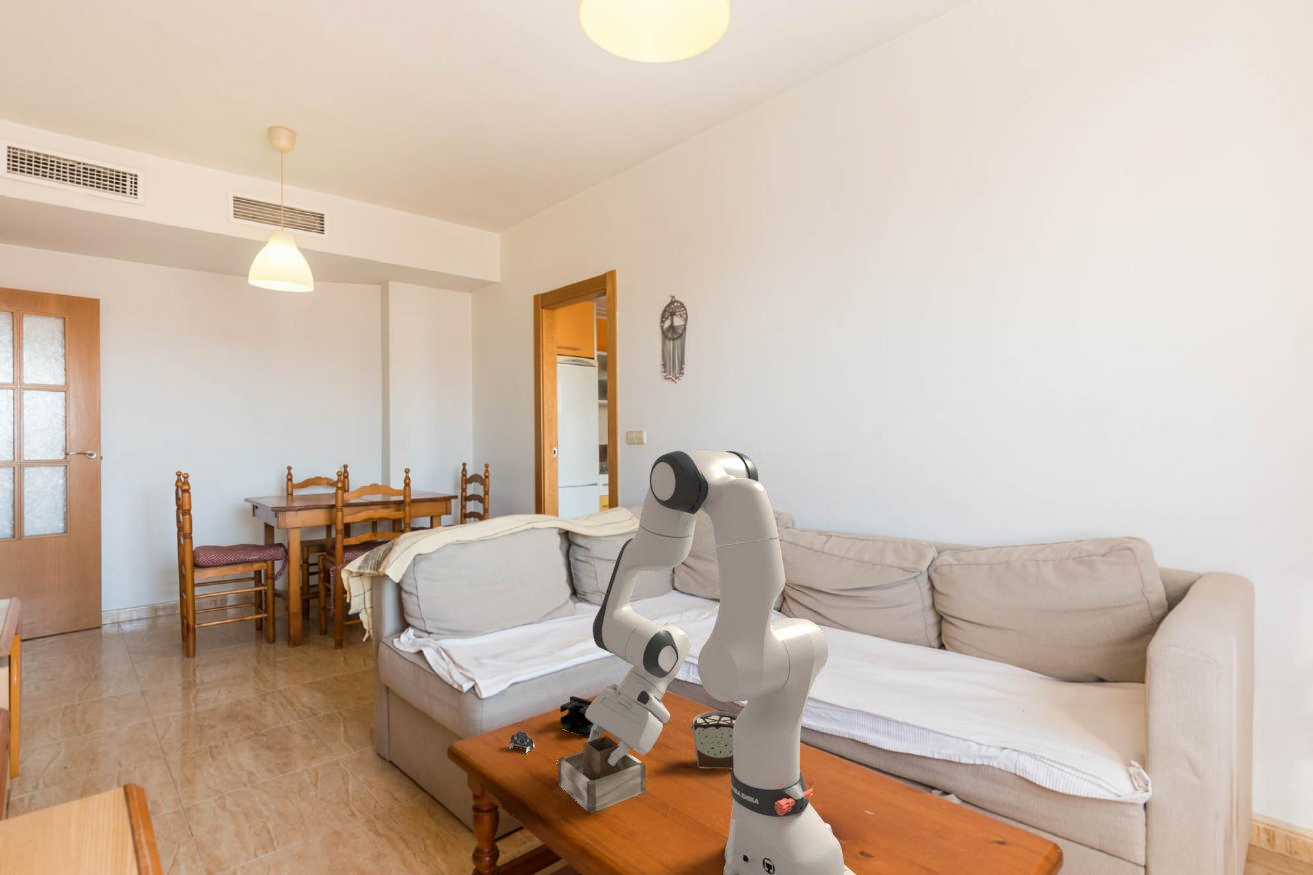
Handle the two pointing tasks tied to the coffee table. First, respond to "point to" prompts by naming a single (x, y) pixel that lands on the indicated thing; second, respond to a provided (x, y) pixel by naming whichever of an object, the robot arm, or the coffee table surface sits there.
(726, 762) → the food container
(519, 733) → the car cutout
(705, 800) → the coffee table surface
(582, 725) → the end cap
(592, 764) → the small crate
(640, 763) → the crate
